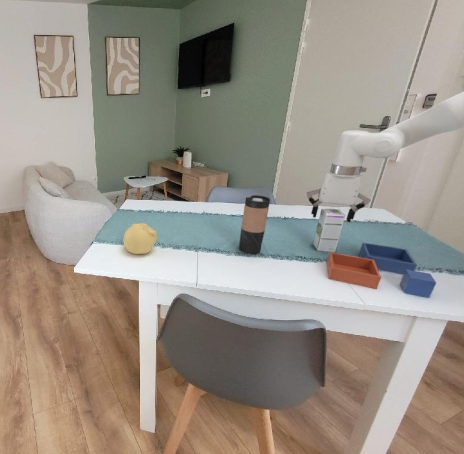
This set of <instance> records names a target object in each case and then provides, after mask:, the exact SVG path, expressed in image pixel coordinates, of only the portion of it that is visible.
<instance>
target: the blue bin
mask: <svg viewBox="0 0 464 454" xmlns="http://www.w3.org/2000/svg"><path fill="white" fill-rule="evenodd" d="M358 253H359V257H361V258H367V259H371V260H374V261H375V263H376V266H377V268H378V271H382V272H387V273H394V274H399V275H404V272H405V270H412V271H416V269H417V263H416V261H415V259H414V258H413V257H412V255H411V253H410V252H409V250H408V249H407V248H401V247H394V246H388V245H381V244H375V243H368V242H362V243H361V247H360V249H359V252H358Z"/></svg>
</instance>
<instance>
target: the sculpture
mask: <svg viewBox="0 0 464 454" xmlns="http://www.w3.org/2000/svg"><path fill="white" fill-rule="evenodd" d="M157 241H158V231H157V230H156V229H154V228H152V227H151V226H149V225H148V224H147V223H144V222H143V223H133V224H132V225H131V226H129V227H128V228H127V229H126V230H125V232H124V235H123V245H124V248H125V249H126V250H127V252H128V253H130V254H134V255H143V254H148V253H149V252H151V250H152V249H153V248H154V246H155V244H156V243H157Z"/></svg>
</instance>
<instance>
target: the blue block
mask: <svg viewBox="0 0 464 454" xmlns="http://www.w3.org/2000/svg"><path fill="white" fill-rule="evenodd" d="M436 285H437V281H436V280H435V278H434V277H433V276H432V274H431V273H430V272H429V273H428V272H423V271H416V270H414V271H412V270H405V272H404V274H402V277H401V280H400V281H399V286H400V288H401V290H402V291H403V293H404V294H407V295H413V296H417V297H423V298H425V299H426V298H427V299H429V298H430V297H431V295H432V293H433V291H434V289H435V287H436Z"/></svg>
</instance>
